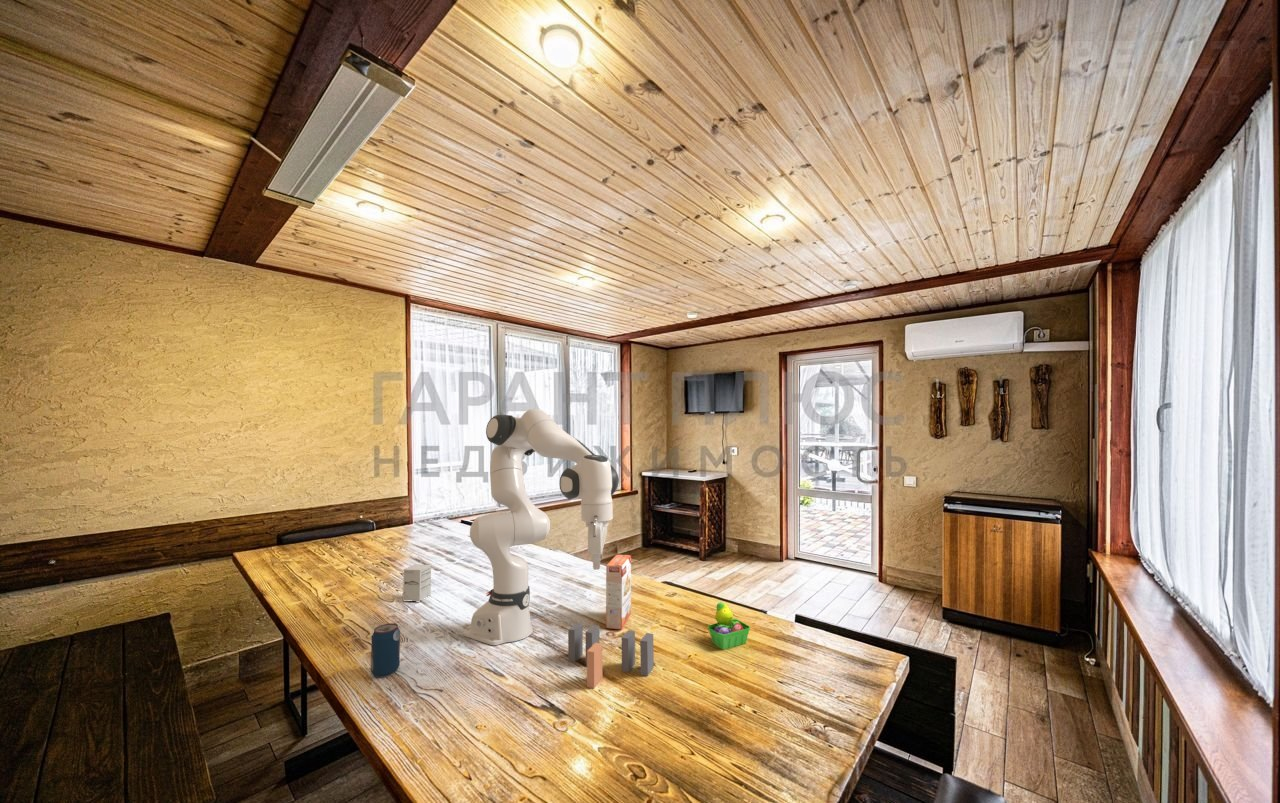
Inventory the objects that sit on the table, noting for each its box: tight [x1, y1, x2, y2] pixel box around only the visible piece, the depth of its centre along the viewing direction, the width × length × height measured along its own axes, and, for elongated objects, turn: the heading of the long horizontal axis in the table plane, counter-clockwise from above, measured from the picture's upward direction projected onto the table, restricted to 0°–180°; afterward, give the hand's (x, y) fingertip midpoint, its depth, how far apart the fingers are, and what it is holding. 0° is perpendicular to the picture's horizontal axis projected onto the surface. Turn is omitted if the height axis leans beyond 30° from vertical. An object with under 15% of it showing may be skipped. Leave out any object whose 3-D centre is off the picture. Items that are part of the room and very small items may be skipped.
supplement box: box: [402, 563, 432, 601], centre depth 184 cm, size 7×7×13 cm
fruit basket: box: [707, 602, 751, 651], centre depth 143 cm, size 11×9×11 cm
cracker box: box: [605, 554, 632, 630], centre depth 161 cm, size 14×6×21 cm, turn 168°
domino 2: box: [585, 624, 601, 666], centre depth 133 cm, size 2×5×9 cm, turn 160°
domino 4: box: [621, 629, 636, 674], centre depth 129 cm, size 2×5×9 cm, turn 160°
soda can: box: [370, 622, 401, 679], centre depth 128 cm, size 7×7×12 cm
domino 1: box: [567, 622, 584, 664], centre depth 135 cm, size 2×5×9 cm, turn 160°
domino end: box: [639, 632, 655, 677], centre depth 127 cm, size 2×5×9 cm, turn 160°
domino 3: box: [586, 642, 603, 689], centre depth 121 cm, size 2×5×9 cm, turn 160°
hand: (598, 564), depth 128 cm, fingers open, 8 cm apart
